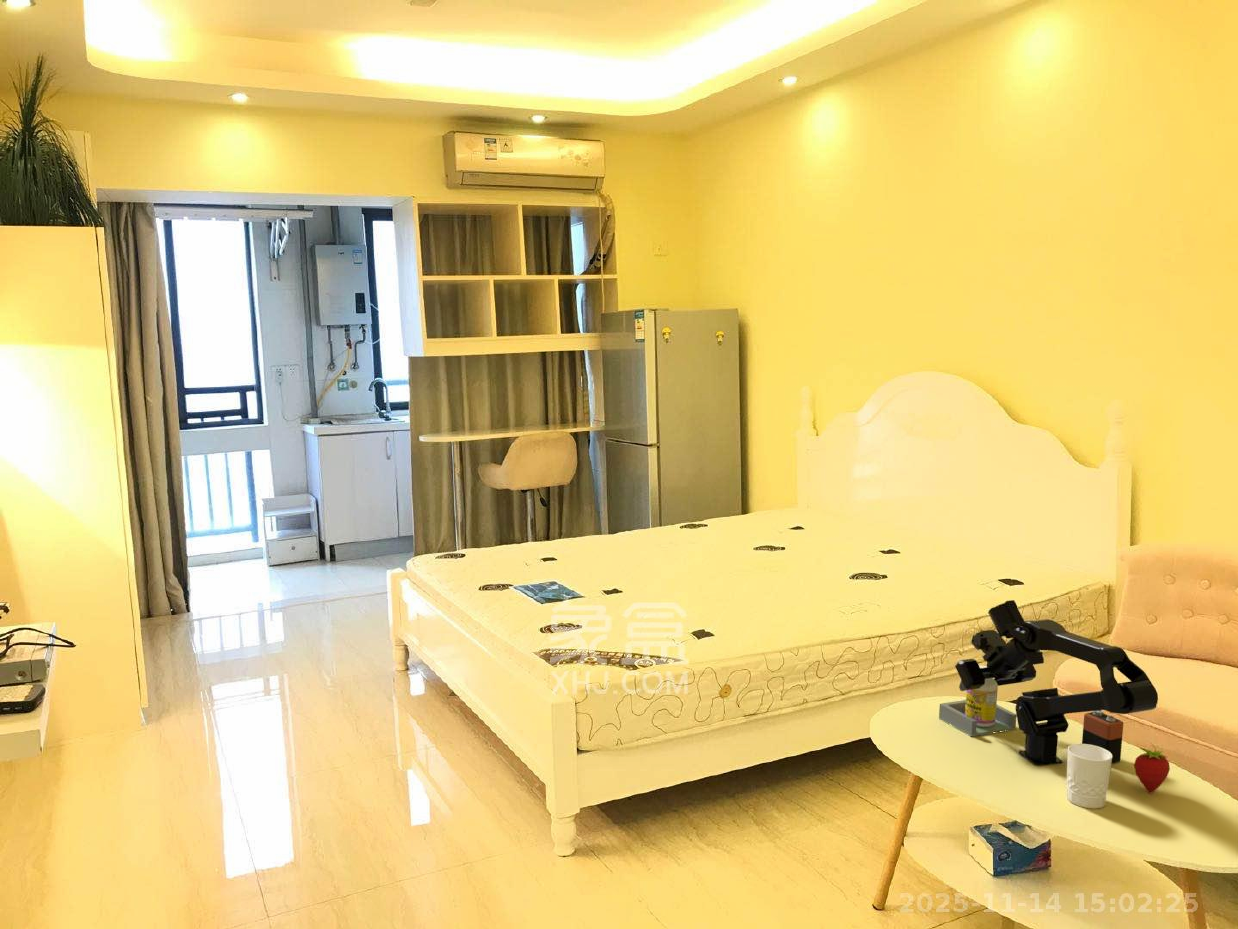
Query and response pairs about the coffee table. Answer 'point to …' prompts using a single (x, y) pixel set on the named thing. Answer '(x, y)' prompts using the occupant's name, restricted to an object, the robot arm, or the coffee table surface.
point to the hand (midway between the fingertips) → (976, 686)
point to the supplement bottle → (982, 703)
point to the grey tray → (958, 719)
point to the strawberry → (1151, 769)
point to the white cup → (1088, 775)
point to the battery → (1103, 733)
